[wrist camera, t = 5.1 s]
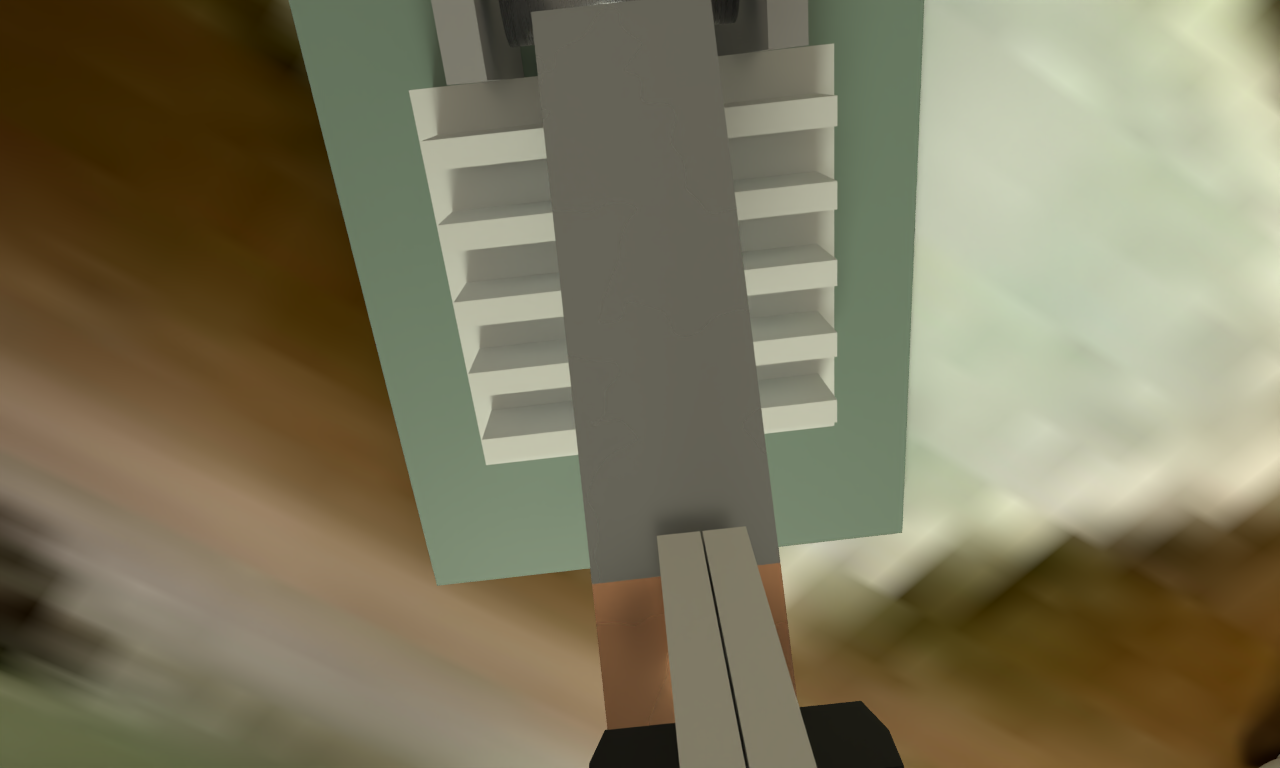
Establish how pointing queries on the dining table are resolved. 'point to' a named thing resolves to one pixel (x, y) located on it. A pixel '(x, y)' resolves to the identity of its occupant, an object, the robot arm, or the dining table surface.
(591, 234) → the orange-tipped flat strip
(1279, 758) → the cable organizer
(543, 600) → the dining table surface
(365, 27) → the heatsink board
